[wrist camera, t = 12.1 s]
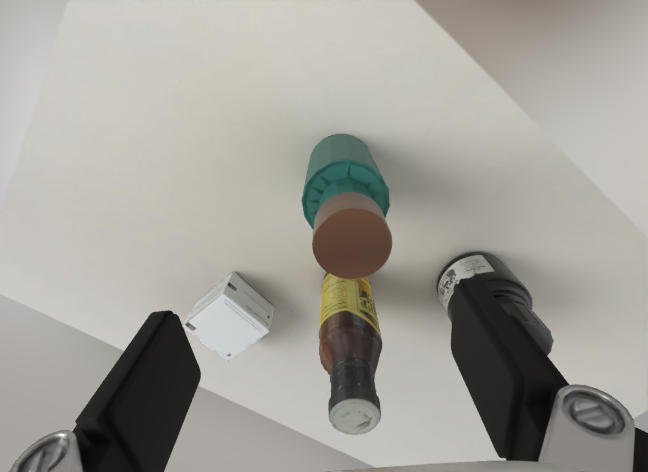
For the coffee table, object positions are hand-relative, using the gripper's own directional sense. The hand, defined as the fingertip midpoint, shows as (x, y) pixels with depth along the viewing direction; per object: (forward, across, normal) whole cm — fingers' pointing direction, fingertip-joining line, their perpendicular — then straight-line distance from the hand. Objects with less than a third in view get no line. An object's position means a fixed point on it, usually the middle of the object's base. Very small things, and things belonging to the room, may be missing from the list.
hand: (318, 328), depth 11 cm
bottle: (+28, -2, +2) cm, 28 cm away
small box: (+28, +14, +19) cm, 37 cm away
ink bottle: (+28, -17, +19) cm, 38 cm away
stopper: (+15, -2, +2) cm, 15 cm away
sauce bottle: (+28, -1, +17) cm, 33 cm away
